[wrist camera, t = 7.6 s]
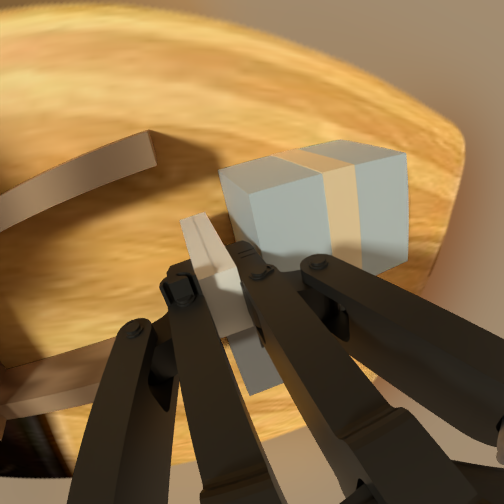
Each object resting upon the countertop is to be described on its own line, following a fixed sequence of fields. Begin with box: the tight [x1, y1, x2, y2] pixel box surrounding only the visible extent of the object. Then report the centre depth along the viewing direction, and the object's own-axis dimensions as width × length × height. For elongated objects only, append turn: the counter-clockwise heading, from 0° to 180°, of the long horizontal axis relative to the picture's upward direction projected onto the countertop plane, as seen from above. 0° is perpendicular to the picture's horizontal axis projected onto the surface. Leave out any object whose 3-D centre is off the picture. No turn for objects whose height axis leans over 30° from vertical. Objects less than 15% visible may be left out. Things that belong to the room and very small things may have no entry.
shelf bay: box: [0, 130, 157, 441], centre depth 14 cm, size 18×13×6 cm
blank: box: [218, 140, 409, 276], centre depth 17 cm, size 8×6×6 cm
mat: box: [226, 304, 341, 396], centre depth 23 cm, size 11×11×1 cm
